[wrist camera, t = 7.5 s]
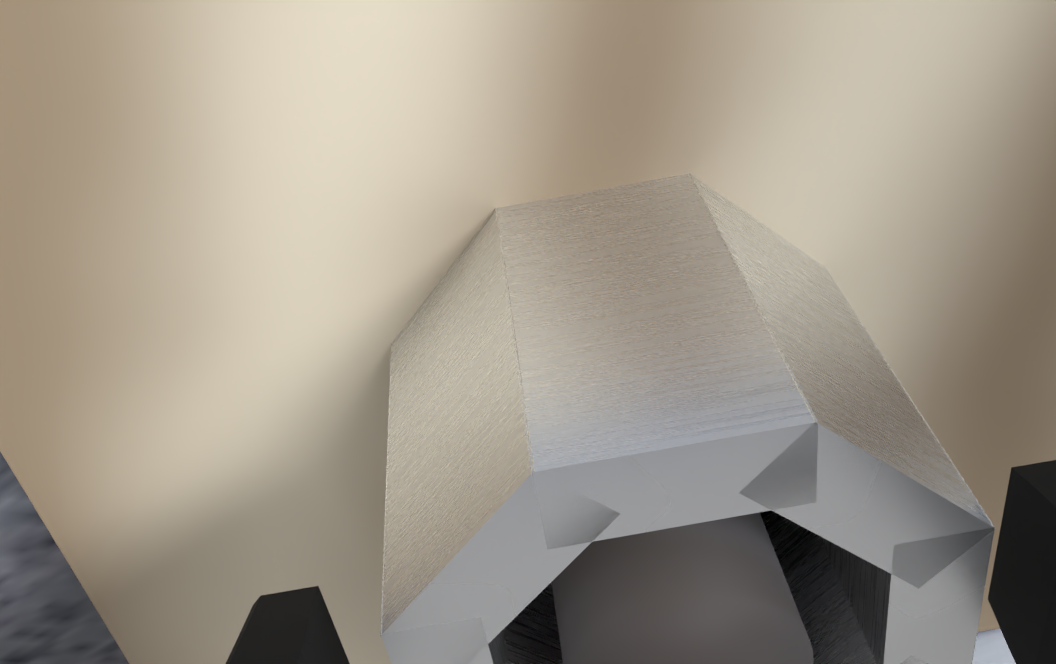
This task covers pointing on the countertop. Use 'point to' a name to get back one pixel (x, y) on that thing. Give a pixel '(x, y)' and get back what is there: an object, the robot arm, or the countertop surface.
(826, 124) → the post board
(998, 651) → the countertop surface
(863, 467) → the steel ring
